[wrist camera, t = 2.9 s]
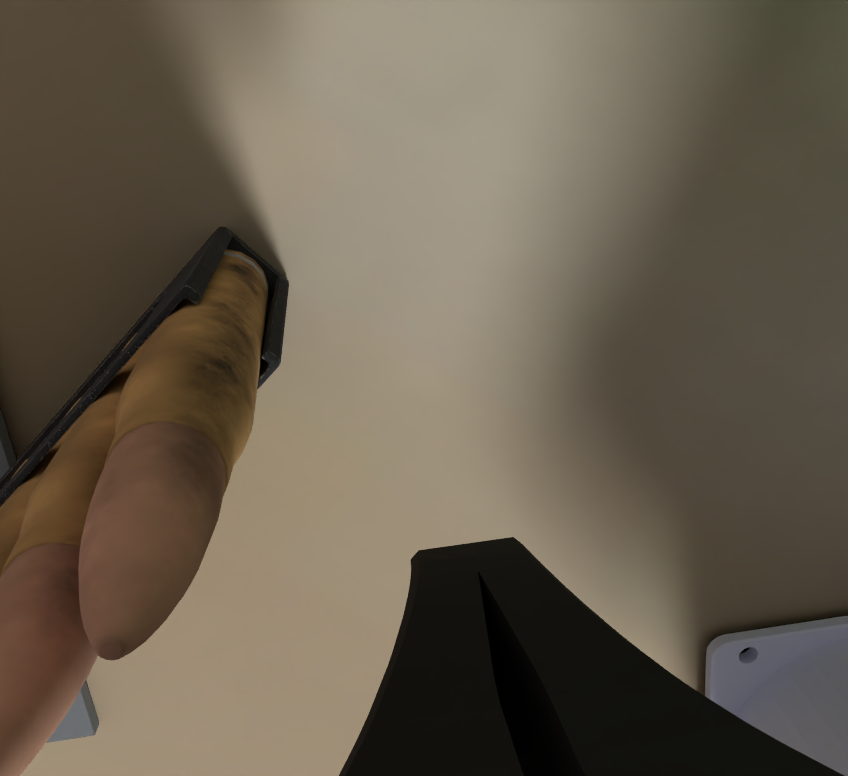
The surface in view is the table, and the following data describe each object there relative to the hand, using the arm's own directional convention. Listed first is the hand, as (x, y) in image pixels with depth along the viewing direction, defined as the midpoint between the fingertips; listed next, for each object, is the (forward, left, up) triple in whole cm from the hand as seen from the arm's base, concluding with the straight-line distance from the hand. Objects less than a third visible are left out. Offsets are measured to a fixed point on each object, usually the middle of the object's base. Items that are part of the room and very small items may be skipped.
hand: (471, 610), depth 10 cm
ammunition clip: (+7, 0, -8) cm, 11 cm away
